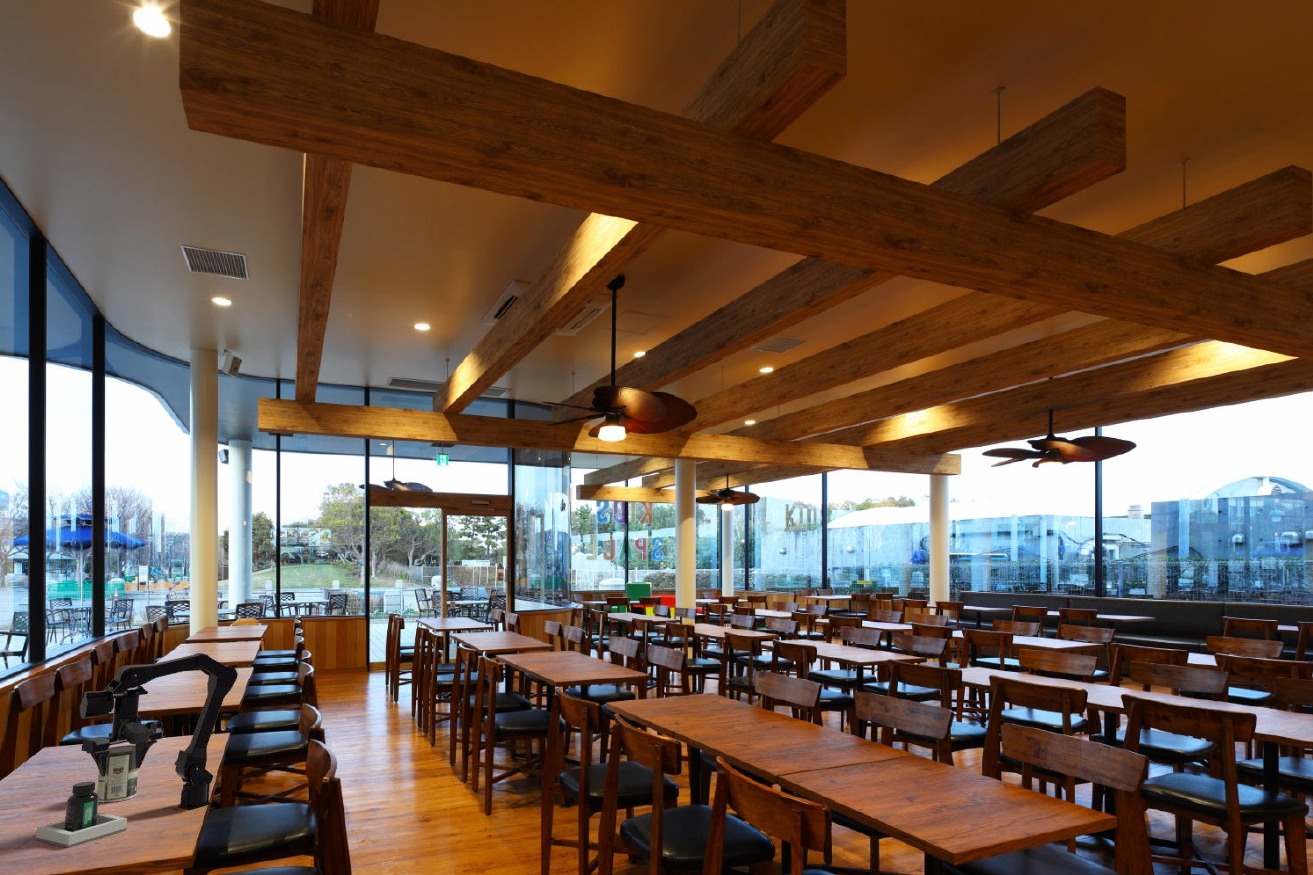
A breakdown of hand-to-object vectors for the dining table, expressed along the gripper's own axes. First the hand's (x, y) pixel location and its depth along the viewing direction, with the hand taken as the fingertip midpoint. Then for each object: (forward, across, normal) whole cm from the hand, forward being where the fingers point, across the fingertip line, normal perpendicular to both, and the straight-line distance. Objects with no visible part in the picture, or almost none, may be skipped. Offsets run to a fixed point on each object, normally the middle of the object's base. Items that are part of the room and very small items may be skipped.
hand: (120, 772), depth 221 cm
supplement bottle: (+13, -10, -1) cm, 16 cm away
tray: (+13, -10, -2) cm, 17 cm away
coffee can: (+13, +14, +24) cm, 31 cm away
